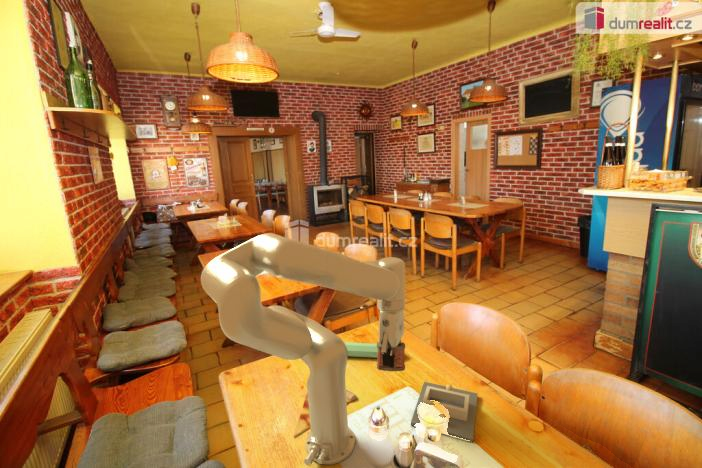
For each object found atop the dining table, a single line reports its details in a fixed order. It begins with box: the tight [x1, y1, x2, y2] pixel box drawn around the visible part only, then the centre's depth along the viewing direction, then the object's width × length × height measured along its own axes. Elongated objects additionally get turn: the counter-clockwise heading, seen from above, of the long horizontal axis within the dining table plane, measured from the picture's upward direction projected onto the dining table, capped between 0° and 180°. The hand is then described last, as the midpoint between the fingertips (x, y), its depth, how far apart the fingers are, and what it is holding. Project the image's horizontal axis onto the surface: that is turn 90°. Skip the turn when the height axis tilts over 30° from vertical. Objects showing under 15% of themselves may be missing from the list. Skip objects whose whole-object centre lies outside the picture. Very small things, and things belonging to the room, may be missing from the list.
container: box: [343, 341, 378, 359], centre depth 126 cm, size 6×6×25 cm
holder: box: [410, 381, 478, 442], centre depth 98 cm, size 18×16×4 cm
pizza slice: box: [293, 389, 357, 439], centre depth 104 cm, size 16×22×2 cm
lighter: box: [376, 339, 406, 372], centre depth 98 cm, size 8×3×10 cm, turn 84°
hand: (390, 360), depth 99 cm, fingers closed on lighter, 4 cm apart
